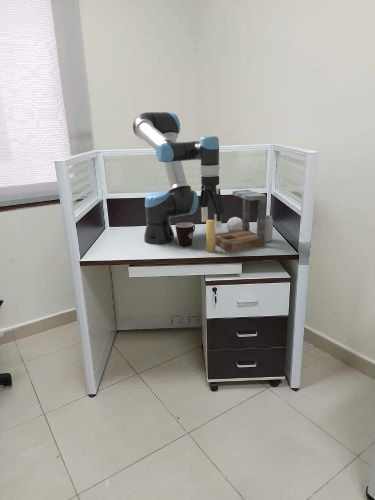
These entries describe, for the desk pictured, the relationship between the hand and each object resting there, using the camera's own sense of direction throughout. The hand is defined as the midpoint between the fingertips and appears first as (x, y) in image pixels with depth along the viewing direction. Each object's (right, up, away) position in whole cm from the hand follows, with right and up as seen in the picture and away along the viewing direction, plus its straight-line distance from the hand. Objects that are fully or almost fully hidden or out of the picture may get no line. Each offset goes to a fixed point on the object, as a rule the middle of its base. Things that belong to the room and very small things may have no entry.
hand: (211, 224), depth 152 cm
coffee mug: (-10, -9, +14) cm, 19 cm away
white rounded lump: (+16, -3, +27) cm, 31 cm away
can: (+27, -7, +16) cm, 32 cm away
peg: (0, -11, +4) cm, 12 cm away
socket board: (+13, -8, +12) cm, 20 cm away
